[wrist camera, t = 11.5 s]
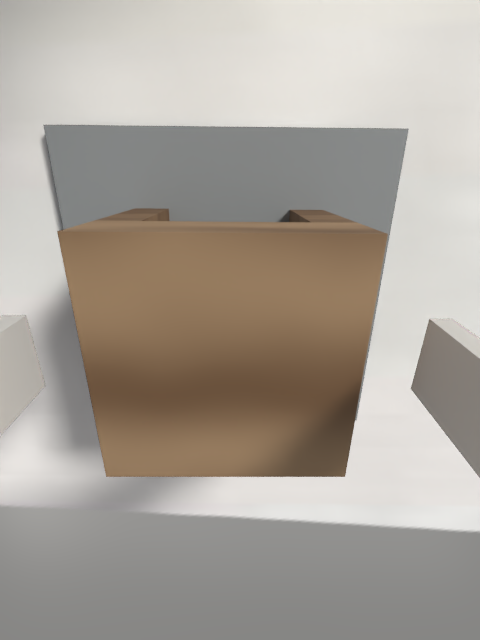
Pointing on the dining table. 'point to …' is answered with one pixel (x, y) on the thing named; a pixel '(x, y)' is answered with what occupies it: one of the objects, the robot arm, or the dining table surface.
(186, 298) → the wooden stool
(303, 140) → the mat
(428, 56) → the dining table surface
